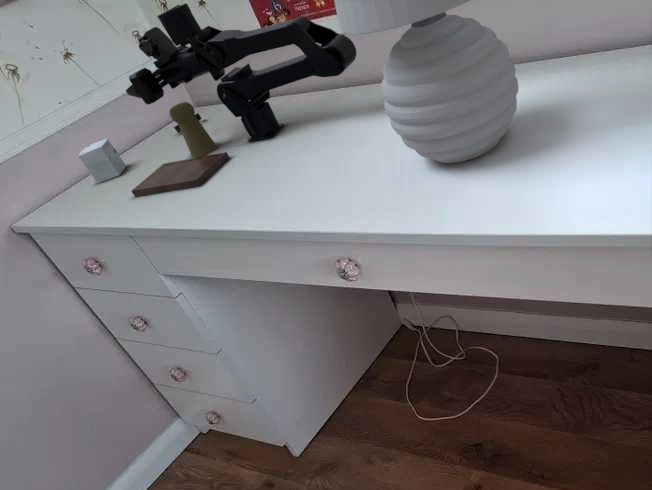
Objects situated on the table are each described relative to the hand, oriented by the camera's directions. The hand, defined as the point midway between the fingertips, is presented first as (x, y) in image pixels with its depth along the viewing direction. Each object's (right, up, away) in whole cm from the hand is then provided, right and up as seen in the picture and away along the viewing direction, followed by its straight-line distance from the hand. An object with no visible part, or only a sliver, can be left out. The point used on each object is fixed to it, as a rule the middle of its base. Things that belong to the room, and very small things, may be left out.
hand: (140, 84), depth 144 cm
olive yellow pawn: (+12, -14, +5) cm, 19 cm away
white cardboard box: (-13, -17, +12) cm, 24 cm away
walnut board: (+12, -22, -5) cm, 26 cm away
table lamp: (+73, -26, -36) cm, 85 cm away
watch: (+1, -2, +24) cm, 24 cm away
